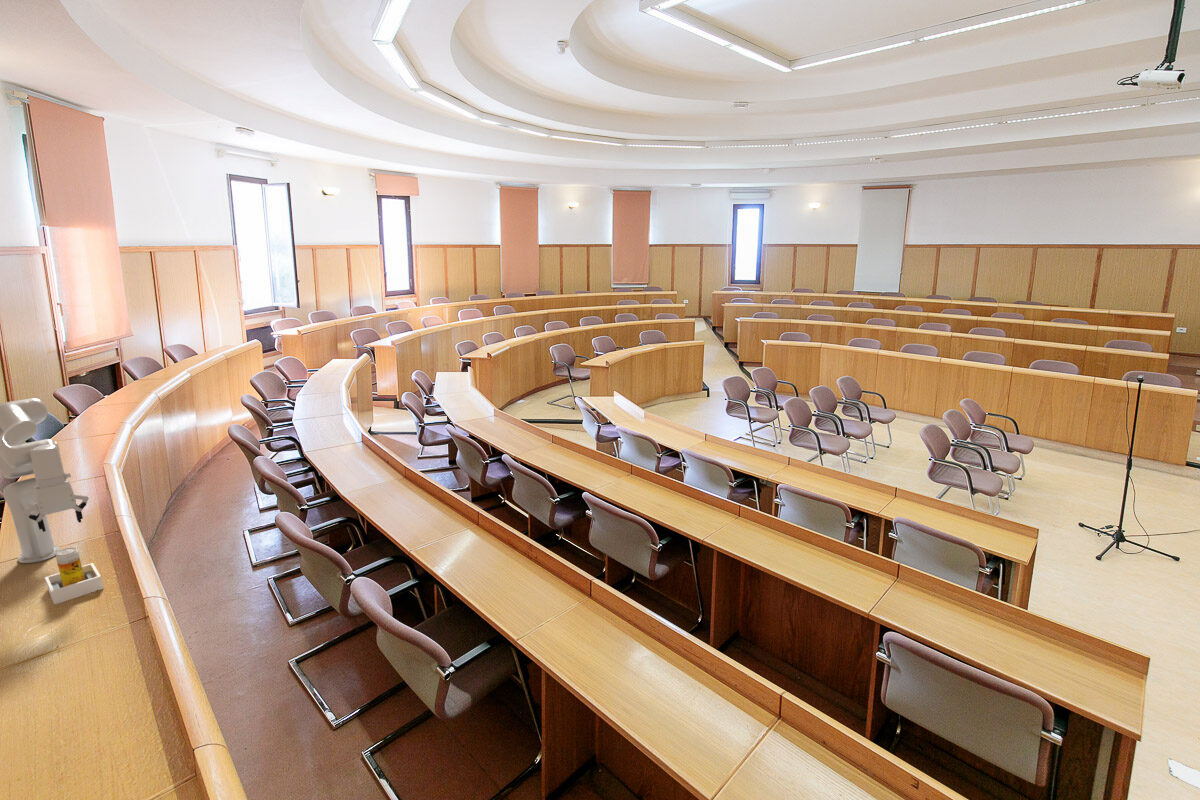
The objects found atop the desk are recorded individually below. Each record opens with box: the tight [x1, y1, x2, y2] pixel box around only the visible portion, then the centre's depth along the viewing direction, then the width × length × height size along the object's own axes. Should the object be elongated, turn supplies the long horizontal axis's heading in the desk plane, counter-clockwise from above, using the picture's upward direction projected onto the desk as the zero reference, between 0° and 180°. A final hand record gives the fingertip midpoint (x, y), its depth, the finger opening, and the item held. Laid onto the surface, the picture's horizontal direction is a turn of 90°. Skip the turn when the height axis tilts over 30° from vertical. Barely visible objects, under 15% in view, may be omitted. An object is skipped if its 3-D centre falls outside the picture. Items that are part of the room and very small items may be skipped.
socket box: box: [44, 562, 104, 605], centre depth 221 cm, size 14×14×5 cm
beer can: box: [55, 547, 85, 587], centre depth 220 cm, size 6×6×15 cm
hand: (61, 525), depth 217 cm, fingers open, 9 cm apart
